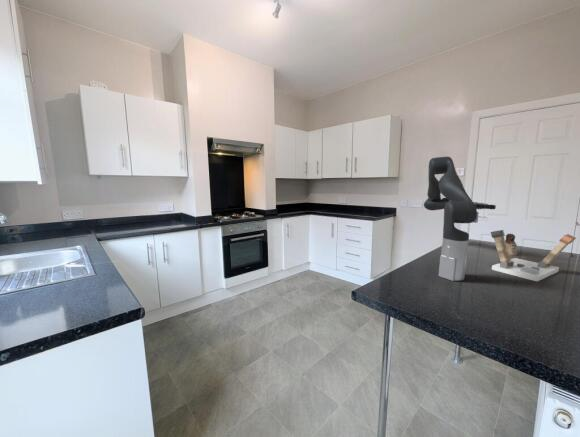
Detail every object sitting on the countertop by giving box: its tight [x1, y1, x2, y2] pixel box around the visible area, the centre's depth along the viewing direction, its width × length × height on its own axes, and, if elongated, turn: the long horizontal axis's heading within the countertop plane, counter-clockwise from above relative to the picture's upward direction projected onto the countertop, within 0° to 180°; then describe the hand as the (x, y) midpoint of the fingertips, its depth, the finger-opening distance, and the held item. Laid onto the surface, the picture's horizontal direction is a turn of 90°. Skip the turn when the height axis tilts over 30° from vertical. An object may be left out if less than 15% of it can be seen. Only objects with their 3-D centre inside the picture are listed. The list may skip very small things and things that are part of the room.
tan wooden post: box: [490, 229, 512, 266], centre depth 115 cm, size 6×3×17 cm, turn 118°
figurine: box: [505, 233, 518, 257], centre depth 140 cm, size 7×7×12 cm
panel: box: [491, 257, 560, 282], centre depth 115 cm, size 24×16×4 cm, turn 118°
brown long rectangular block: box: [540, 233, 577, 266], centre depth 111 cm, size 6×3×17 cm, turn 118°
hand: (494, 207), depth 128 cm, fingers closed
